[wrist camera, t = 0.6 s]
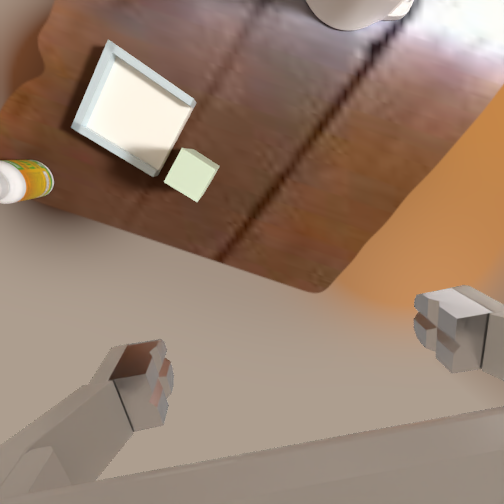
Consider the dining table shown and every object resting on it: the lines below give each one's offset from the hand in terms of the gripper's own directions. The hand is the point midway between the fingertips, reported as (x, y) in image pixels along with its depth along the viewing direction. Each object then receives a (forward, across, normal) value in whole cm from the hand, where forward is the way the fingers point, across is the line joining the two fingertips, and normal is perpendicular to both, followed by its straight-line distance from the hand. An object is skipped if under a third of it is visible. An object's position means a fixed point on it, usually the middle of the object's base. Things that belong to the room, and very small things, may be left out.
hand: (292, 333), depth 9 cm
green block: (+38, +6, -4) cm, 39 cm away
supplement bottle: (+39, +30, -7) cm, 50 cm away
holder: (+38, +13, -13) cm, 43 cm away
